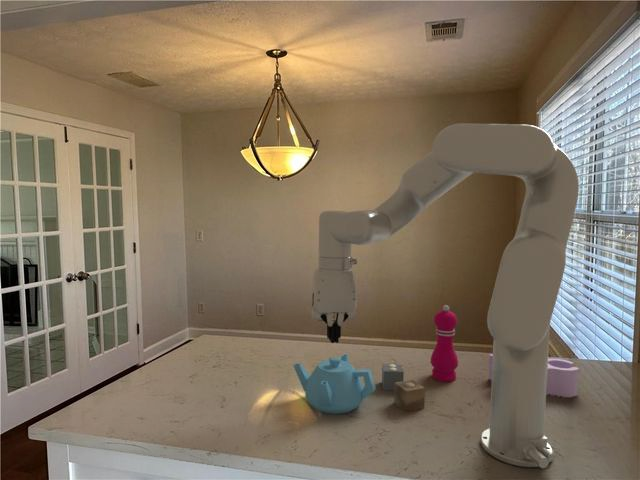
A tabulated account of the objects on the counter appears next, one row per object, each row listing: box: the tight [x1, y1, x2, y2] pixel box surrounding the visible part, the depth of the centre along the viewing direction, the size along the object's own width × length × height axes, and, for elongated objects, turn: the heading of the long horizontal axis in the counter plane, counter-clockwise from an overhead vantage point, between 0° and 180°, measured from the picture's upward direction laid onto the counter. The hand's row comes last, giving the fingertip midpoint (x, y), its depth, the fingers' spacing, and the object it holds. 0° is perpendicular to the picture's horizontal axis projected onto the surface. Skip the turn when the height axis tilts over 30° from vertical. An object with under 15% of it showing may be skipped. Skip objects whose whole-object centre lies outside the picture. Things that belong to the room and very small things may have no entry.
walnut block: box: [393, 379, 426, 413], centre depth 101 cm, size 5×5×5 cm
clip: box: [488, 353, 580, 398], centre depth 112 cm, size 20×12×7 cm, turn 77°
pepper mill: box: [430, 304, 459, 382], centre depth 118 cm, size 7×7×20 cm
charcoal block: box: [381, 363, 405, 391], centre depth 112 cm, size 5×5×5 cm
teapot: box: [293, 353, 377, 415], centre depth 102 cm, size 15×15×11 cm
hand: (333, 341), depth 102 cm, fingers closed
